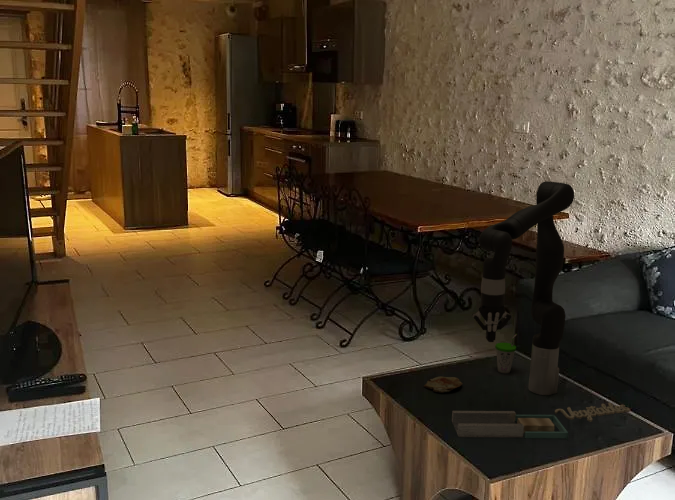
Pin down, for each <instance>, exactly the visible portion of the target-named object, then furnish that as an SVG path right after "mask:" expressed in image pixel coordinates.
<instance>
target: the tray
mask: <svg viewBox="0 0 675 500" xmlns="http://www.w3.org/2000/svg"><path fill="white" fill-rule="evenodd" d="M518 418H549V419H550V420H551V421H552V423H553V424H554V426H555V427H556V428H557V429H558V431H554V432H525V433H524V438H525V439H565V440H567V441H568V440H569V432H568V430H567V429H566V428H565V427H564V425H563V424H562V422H561V421H560V420H559V419H558V417H557V416H556V415H555V414H516V416H515V422H517V420H518Z"/></svg>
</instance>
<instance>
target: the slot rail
mask: <svg viewBox="0 0 675 500" xmlns="http://www.w3.org/2000/svg"><path fill="white" fill-rule="evenodd" d="M451 414H452V415H451V422H452V425H453V428H454V430H455V432H456V434H457V437H458V438H524V433H523V431H524V425H523V424H517V423H516V421H515V416H516V415H517V413H516V412H515V410H452V413H451Z"/></svg>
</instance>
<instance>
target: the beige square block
mask: <svg viewBox="0 0 675 500" xmlns="http://www.w3.org/2000/svg"><path fill="white" fill-rule="evenodd" d="M516 424H523V425H524V431H523V434H525V432H538V424H537V423H536V421H535V420H534V418H518V420H517V421H516Z"/></svg>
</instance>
